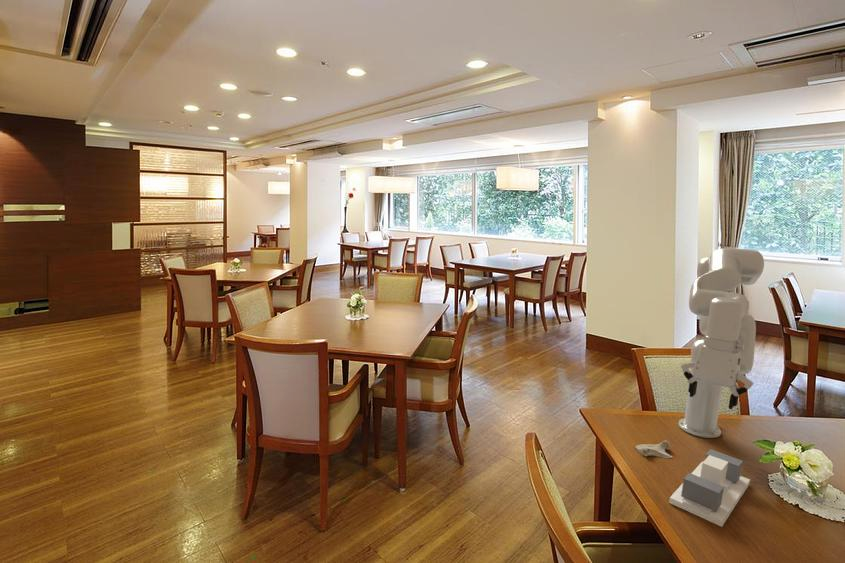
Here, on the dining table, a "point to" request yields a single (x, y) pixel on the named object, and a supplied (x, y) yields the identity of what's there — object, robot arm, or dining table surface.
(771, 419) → the dining table surface
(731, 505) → the rail board
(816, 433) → the dining table surface
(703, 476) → the block
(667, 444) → the fossil
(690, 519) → the dining table surface
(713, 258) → the robot arm
